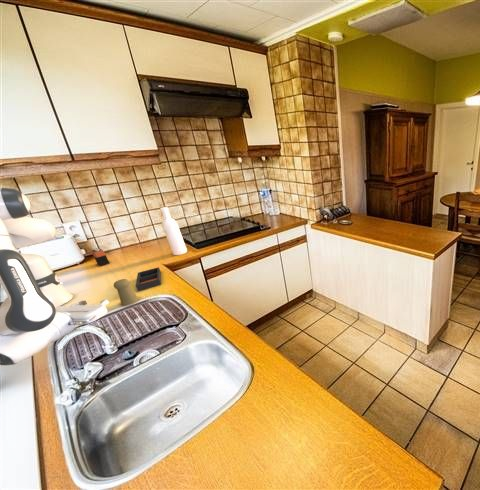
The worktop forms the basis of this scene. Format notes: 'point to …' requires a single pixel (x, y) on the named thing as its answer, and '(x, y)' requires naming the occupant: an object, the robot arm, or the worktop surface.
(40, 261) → the robot arm
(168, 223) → the bottle
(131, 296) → the cork
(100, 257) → the battery
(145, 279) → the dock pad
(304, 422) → the worktop surface
